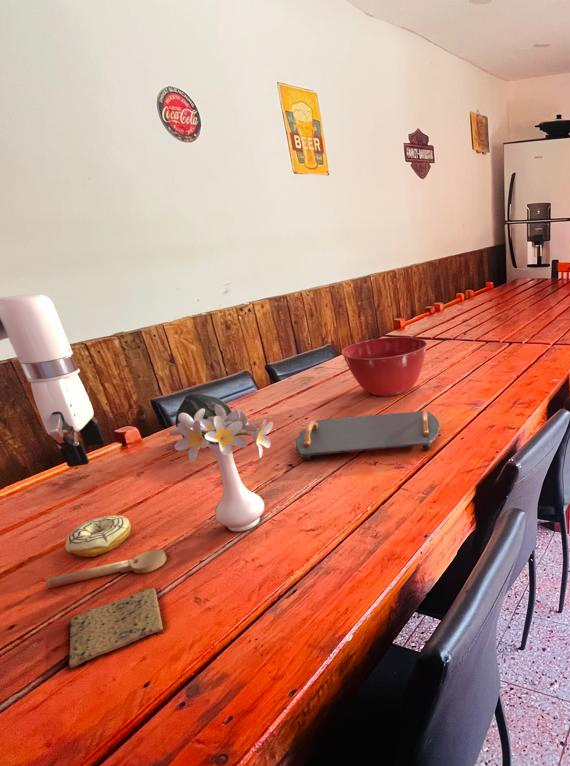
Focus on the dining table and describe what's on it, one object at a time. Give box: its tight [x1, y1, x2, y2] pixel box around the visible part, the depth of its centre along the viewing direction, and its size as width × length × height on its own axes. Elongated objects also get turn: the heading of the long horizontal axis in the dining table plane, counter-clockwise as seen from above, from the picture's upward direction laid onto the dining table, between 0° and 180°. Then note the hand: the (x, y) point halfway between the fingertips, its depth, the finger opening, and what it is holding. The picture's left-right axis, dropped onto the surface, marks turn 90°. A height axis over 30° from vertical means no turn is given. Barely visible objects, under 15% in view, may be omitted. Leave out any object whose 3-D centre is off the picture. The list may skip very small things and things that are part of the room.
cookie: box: [68, 587, 163, 669], centre depth 81 cm, size 12×12×1 cm
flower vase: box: [169, 404, 274, 532], centre depth 101 cm, size 13×18×25 cm
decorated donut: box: [65, 514, 132, 558], centre depth 101 cm, size 10×11×4 cm
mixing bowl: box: [341, 336, 428, 397], centre depth 174 cm, size 28×28×15 cm
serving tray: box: [295, 410, 441, 462], centre depth 139 cm, size 39×23×6 cm, turn 96°
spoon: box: [45, 548, 167, 589], centre depth 93 cm, size 19×6×2 cm, turn 111°
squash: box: [175, 393, 233, 442], centre depth 144 cm, size 14×15×15 cm
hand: (87, 454), depth 98 cm, fingers open, 9 cm apart
